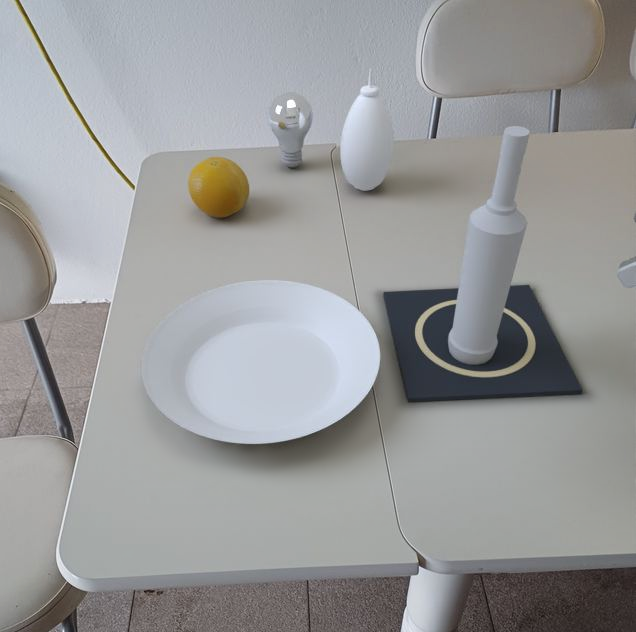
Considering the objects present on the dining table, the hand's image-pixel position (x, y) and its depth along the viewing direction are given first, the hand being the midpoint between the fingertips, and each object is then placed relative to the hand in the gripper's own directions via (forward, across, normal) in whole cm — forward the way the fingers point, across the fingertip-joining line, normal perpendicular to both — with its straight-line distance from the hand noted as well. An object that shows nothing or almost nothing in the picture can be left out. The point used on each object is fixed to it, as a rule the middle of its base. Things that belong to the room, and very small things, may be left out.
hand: (630, 247), depth 56 cm
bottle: (+20, 0, +4) cm, 20 cm away
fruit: (+50, -14, -25) cm, 58 cm away
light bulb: (+48, -30, -23) cm, 62 cm away
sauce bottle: (+39, -29, -14) cm, 50 cm away
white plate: (+34, +13, -9) cm, 37 cm away
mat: (+20, -2, +4) cm, 21 cm away
